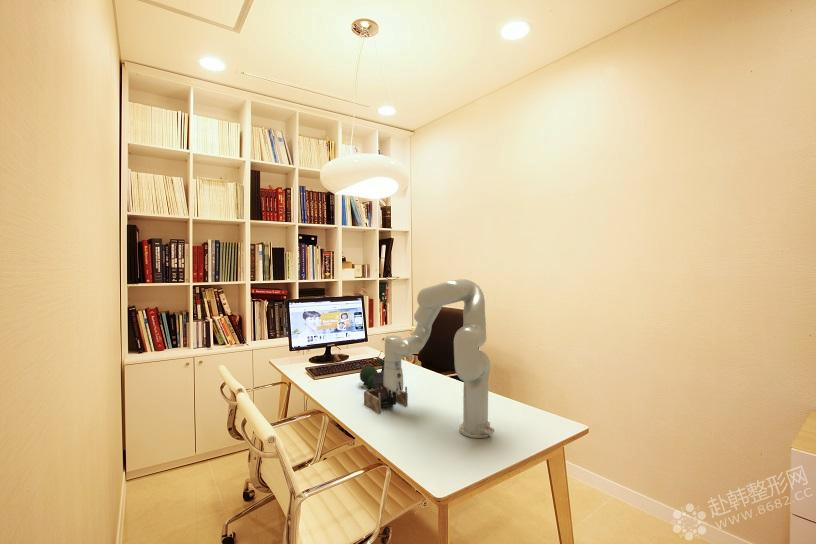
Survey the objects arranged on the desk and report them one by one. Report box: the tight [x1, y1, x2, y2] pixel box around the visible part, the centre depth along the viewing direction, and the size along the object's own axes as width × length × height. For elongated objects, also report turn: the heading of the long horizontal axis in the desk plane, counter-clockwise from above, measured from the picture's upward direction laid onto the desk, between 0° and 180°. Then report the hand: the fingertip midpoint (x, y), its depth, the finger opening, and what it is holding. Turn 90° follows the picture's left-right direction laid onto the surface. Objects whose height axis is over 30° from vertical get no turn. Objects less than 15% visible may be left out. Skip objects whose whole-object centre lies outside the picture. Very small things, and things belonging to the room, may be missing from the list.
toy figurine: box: [359, 358, 385, 391], centre depth 193 cm, size 9×19×25 cm
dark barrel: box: [374, 371, 390, 408], centre depth 171 cm, size 8×8×15 cm
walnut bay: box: [363, 386, 409, 415], centre depth 172 cm, size 13×15×9 cm
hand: (392, 404), depth 166 cm, fingers closed
